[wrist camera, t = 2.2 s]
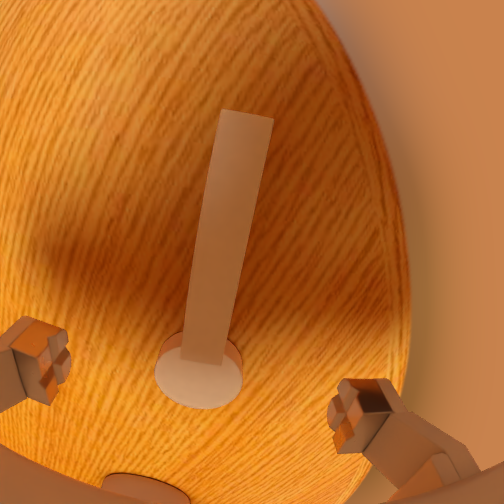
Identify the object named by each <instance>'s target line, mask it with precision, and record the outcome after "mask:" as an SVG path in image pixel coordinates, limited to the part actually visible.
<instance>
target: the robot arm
mask: <svg viewBox="0 0 504 504" xmlns="http://www.w3.org/2000/svg"><path fill="white" fill-rule="evenodd" d="M68 342H69V341H68V335H67V332H66V331H65V330H64V329H62V328H59V327H56V326H53V325H51V324H48V323H45V322H43V321H40V320H37V319H34V318H31V317H29V316H22V317H21V318H20V319H19V320H18V321H17V322H15V323H14V324H13V325H12V326H11V327H10V328H9V329H8V330H7V331H6V332H5V333H4V334H3V335H2V336H1V337H0V413H1V412H3V411H5V410H7V409H9V408H10V407H12V406H14V405H16V404H17V403H19V402H21V401H23V400H25V399H26V398H27V397H28V398H31V399H33V400H36V401H38V402H41V403H43V404H46V405H48V406H50V405H51V403H52V402H53V400H54V398H55V397H56V395H57V394H58V392H59V390H58V386H57V385H59V384H61V383H64V382H65V381H66V379H67V377H68V375H69V372H70V368H71V355H70V352H69V351H68V350H67V348H66V347H65V346H66V344H67V343H68ZM337 389H338V392H339V394H337V395H336V396H335V397H333V398H332V399H331V401H330V404H329V406H328V411H327V421H328V424H329V427H330V428H331V429H332V430H334V431H335V434H334V436H333V437H332V438H333V441H334V444H335V447H336V451H337V454H347V453H362V454H363V455H364V456H365V457H366V458H367V459H368V460H369V461H370V462H371V463H372V464H373V465H374V466H375V467H376V468H377V469H378V470H379V471H380V472H381V473H382V474H383V475H384V476H385V477H386V478H387V479H388V480H389V481H390V482H391V483H392V484H394V485H395V486H396V487H397V488H398V489H399V490H398V491H397V492H395V493H394V494H393V495H392V496H391V497H390V498H389V500H388V501H387V502H385V503H380V504H504V461H503V462H501V463H499V464H497V465H495V466H493V467H491V468H488V469H486V470H484V471H482V472H481V471H480V469H479V467H478V466H477V464H476V462H475V461H474V459H473V457H472V456H471V454H470V453H469V451H468V449H467V448H466V446H465V445H464V444H462V443H461V442H459V441H457V440H455V439H454V438H452V437H451V436H449V435H448V434H446V433H444V432H443V431H441V430H440V429H438V428H437V427H435V426H433V425H432V424H430V423H429V422H427V421H426V420H424V419H422V418H421V417H419V416H418V415H416V414H415V413H413V412H408V411H407V409H406V407H405V406H404V404H403V402H402V401H401V399H400V397H399V395H398V394H397V392H396V390H395V389H394V387H393V385H392V383H391V382H390V381H389V380H388V379H386V378H380V379H349V378H343V380H342V381H341V382H340V383H339V385H338V387H337ZM0 504H160V503H155V502H150V501H146V500H142V499H137V498H133V497H130V496H126V495H122V494H119V493H115V492H112V491H108V490H105V489H102V488H99V487H96V486H93V485H90V484H87V483H84V482H82V481H79V480H76V479H73V478H71V477H68V476H66V475H63V474H61V473H59V472H56V471H54V470H52V469H49V468H47V467H45V466H43V465H40V464H38V463H36V462H34V461H32V460H30V459H28V458H26V457H24V456H22V455H20V454H18V453H16V452H14V451H13V450H11V449H9V448H7V447H5V446H4V445H2V444H0Z"/></svg>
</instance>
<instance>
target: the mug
mask: <svg viewBox="0 0 504 504" xmlns="http://www.w3.org/2000/svg"><path fill="white" fill-rule="evenodd" d="M101 488H102V489H105V490H108V491H112V492H115V493H119V494H122V495H126V496H130V497H133V498H137V499H142V500H146V501H150V502H155V503H160V504H190V500H189V498H188V497H187V496H186V495H185V494H184V493H183V492H181V491H180V490H178V489H176V488H174V487H172V486H170V485H168V484H165V483H163V482H160V481H157V480H154V479H150V478H146V477H142V476H137V475H131V474H112V475H109V476H107V477H106V478H105V479H104V481H103V484H102V487H101Z"/></svg>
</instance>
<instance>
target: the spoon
mask: <svg viewBox="0 0 504 504" xmlns="http://www.w3.org/2000/svg"><path fill="white" fill-rule="evenodd" d="M273 124H274V119H273V118H269V117H264V116H260V115H255V114H250V113H245V112H240V111H234V110H229V109H221V112H220V116H219V121H218V126H217V130H216V135H215V140H214V144H213V149H212V154H211V159H210V164H209V169H208V174H207V180H206V185H205V190H204V196H203V201H202V207H201V213H200V218H199V224H198V230H197V236H196V242H195V249H194V255H193V262H192V268H191V275H190V282H189V289H188V296H187V304H186V312H185V319H184V328H183V331H182V332H179V333H177V334H175V335H173V336H171V337H170V338H169V339H168V340H167V341H166V342H165V343H164V344H163V346H162V348H161V350H160V353H159V356H158V359H157V362H156V365H155V370H154V374H155V379H156V382H157V384H158V386H159V388H160V389H161V390H162V392H163V393H164V394H165V395H166V396H167V397H169V398H170V399H172V400H173V401H175V402H177V403H179V404H181V405H183V406H187V407H190V408H196V409H212V408H217V407H221V406H223V405H225V404H227V403H229V402H231V401H232V400H233V399H234V398H235V397H236V396H237V395H238V394H239V392H240V390H241V388H242V383H243V374H242V359H241V356H240V353H239V352H238V350H237V349H236V347H235V346H234V345H233V344H232V343H231V342H230V341H229V340H227V336H228V332H229V327H230V322H231V317H232V313H233V308H234V303H235V299H236V294H237V289H238V285H239V280H240V275H241V271H242V266H243V261H244V257H245V252H246V247H247V243H248V238H249V234H250V229H251V224H252V220H253V215H254V211H255V206H256V201H257V197H258V192H259V188H260V183H261V179H262V174H263V169H264V165H265V160H266V156H267V151H268V147H269V142H270V138H271V133H272V129H273Z"/></svg>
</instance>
